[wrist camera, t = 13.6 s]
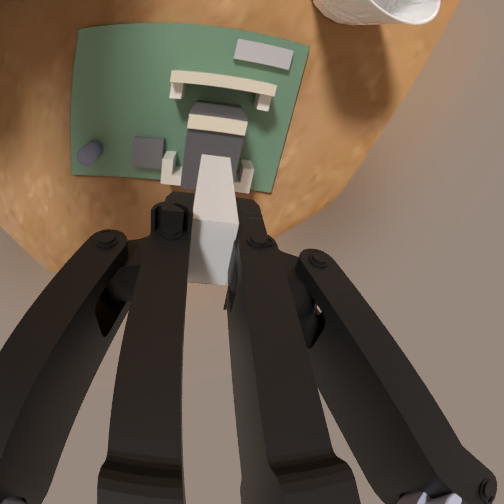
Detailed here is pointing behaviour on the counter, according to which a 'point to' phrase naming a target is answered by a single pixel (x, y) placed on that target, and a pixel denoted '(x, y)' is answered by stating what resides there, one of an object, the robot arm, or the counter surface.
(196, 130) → the plug
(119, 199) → the counter surface
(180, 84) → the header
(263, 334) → the robot arm
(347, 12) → the white cup
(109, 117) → the board
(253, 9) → the counter surface
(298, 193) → the counter surface
